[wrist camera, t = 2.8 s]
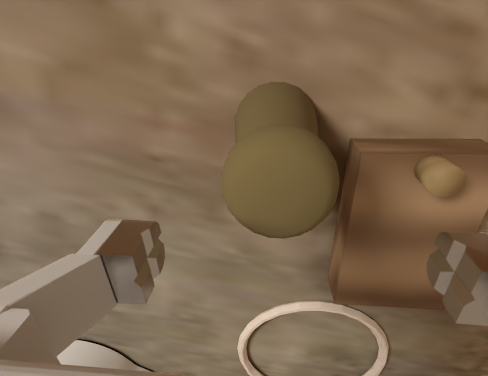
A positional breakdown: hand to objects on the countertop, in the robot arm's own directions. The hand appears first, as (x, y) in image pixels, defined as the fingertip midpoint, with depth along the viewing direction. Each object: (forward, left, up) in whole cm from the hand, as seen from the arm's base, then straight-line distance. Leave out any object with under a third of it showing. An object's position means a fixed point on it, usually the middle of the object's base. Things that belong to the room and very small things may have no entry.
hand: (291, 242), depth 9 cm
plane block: (-8, -10, -14) cm, 19 cm away
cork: (0, 0, -14) cm, 14 cm away
